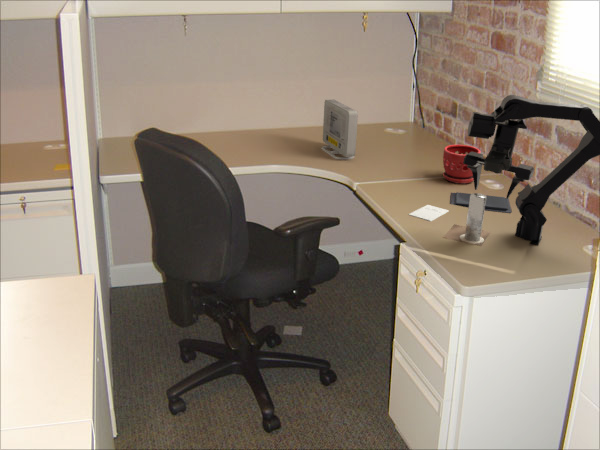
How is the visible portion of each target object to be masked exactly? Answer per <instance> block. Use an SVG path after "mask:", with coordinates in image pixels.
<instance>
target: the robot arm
mask: <svg viewBox="0 0 600 450" xmlns="http://www.w3.org/2000/svg"><path fill="white" fill-rule="evenodd" d="M532 118H542V119H543V118H545V119H557V120H566V121H567V120H568V121H579V122H580V124H581V126H582V128H584V130H585V131H586V133H585V134H584V135H583V137H581V140H580V142H579V143H578V145H577V147H576V148H575V149H574V150H573V151H572V152H571V153H570V154H569V155H568V156H567V157H566V158H565V159H564V160H562V161H561V163H559V164H558V165H557V166H556V167H555V168H554V169H553V170H552V171H551V172H550V173H548V174H547V175H546V176H545V177H544V178H543V179H542V180H541V181H540V182H538V183H537V184H536V185H535V184H534V185H533V186H531V185H530V183H527V184H526V185H525V186H524V188H523V189H521V190H520V191H519V192H517V197H516V198H515V206H516V208H517V210H518V213H519V214H520V215H521V217H520V218H519V220H518V222H517V223H516V228H515V236H516V237H517V238H520V239H522V240H525V241H529V244H531V245H535V246H536V245H537V246H538V245H540V242H541V240H542V239H543V236H542V234H543V229H544V225H545V224H546V222H547V221H548V220H547V217H546V216H545V214H544V212H543V209H544V207H545V206H546V204H547V203H548V201H549V199H550V198H551V195H553V194H554V193H555V192H556V191H557V190H558V189H559V188H560V187H562V186H563V184H565V182H567V181H569V179H570V178H571V177H572V176H573V175H575V173H576V172H578V171H579V170H580V169H581V168H582V167H583V166H584V165H585V164H586V163H588V162H589V161H590V160H592V159H595V158H596V157H599V156H600V120H599V119H598V117H597V116H596V115H595V113H594V112H593V110H592V109H591V108H590V107H589V106H587V105H586V104H569V103H559V102H557V103H556V102H544V101H536V100H533V99H529V98H527V97H523V96H519V95H516V94H507V95H506V96H505V97H504V98H503V99H502V100H501V103H500V105H498V106H497V107H496V109H495V110H494V111H492V112H491V114H488V113H482V112H478V111H473V113H472V116H471V118H470V121H469V122H468V126H467V137H470V138H478V139H484V140H489V138H492V137H493V136H494V139H493V143H492V145H491V149H490V150H489V152H488V154H487V155H486V156H485V158H484V154H483V153H481V154H480V153H476V152H470V153H469V154H468V153H466V155H465V157H464V161H463V164H466V165H467V167H468V168H470V169H471V171H472V174H473V179H474V180H473V185H474V190H475V191H477V190H478V187H479V185H480V179H481V174H482V168H483V171H486V172H492V173H494V174H498V175H499V174H501V173H502V171H505V172H506V171H507V172H509V173H514V176H513V177H512V180H511V183H510V186H509V188H508V192H507V194H506V197H505V198H507V199H510V198H509V197H510V196H511V195H512V193H513V192H514V190H515V189H516V187H517V186H518V185H519V184H520V183H523V182H525V181H530V180H531V178H533V176H534V173H535V169H534V166H531V165H528V164H525V163H524V164H523V163H520V164H519V165H518V166H517V165H512V164H513V158H512V155H513V153H514V149H515V147H516V146H515V144H516V141H517V137H518V133H519V129H521V130H522V129H523V130H526V129H527V128H528V126H527V125H526V124H525V122H524V120H526V119H532Z"/></svg>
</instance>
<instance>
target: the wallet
mask: <svg viewBox="0 0 600 450" xmlns="http://www.w3.org/2000/svg"><path fill="white" fill-rule="evenodd" d="M471 194H472V193H468V192H467V193H466V192H457V191H456V192H450V196H449V205H453V206H458V207H463V208H469V201H470V195H471ZM485 195H486V194H485ZM486 196H487V197H486V204H485V210H484V212H492V213H493V212H495V213H503V214H511V213H512V212H513V211H512V207H511V202H510V198H508V199H507V198H506V197H505V196H497V195H488V194H487V195H486Z"/></svg>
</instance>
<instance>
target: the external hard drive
mask: <svg viewBox="0 0 600 450" xmlns="http://www.w3.org/2000/svg"><path fill="white" fill-rule="evenodd" d="M448 212H450V210H448V209H446V208H441V207H437V206H434V205H430V204H426V205H424V206H422V207H419V208H418V209H416V210H413V211H412V212H410V213H408V214H407V215H408V216H411V217H414V218H417V219H422V220H424V221H428V222H433V221H434V220H436V219H438V218H439V217H442V216H443V215H445V214H447V213H448Z"/></svg>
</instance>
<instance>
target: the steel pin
mask: <svg viewBox="0 0 600 450" xmlns="http://www.w3.org/2000/svg"><path fill="white" fill-rule="evenodd" d="M470 194H471V195H470V201H469V208H468V209H467V216H466V217H467V218H466V223H465V227H466V229H465V236H464V238H465V239H466V240H468V241H473V242H476V241H479V240H480V236H481V230H483V229H482V228H483V222H484V217H485V211H484V210H485V204H486V197H487V196H486V194H482V193H475V192H474V193H470Z"/></svg>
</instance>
